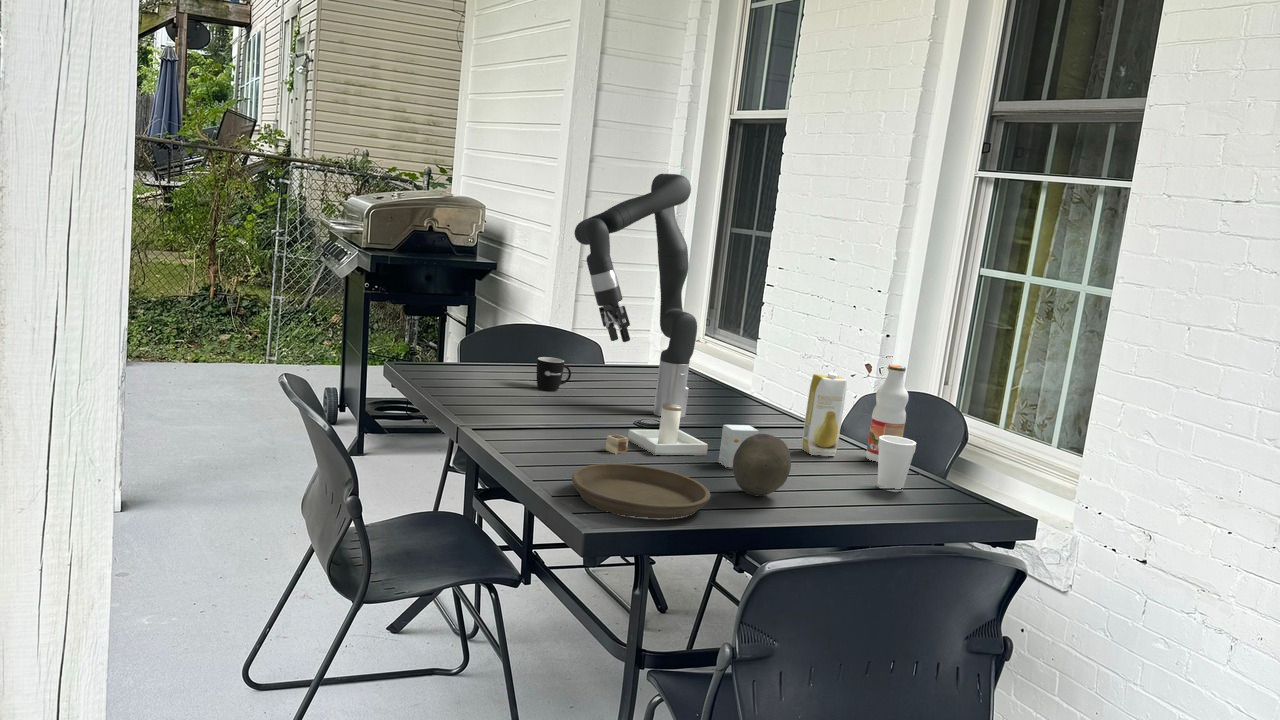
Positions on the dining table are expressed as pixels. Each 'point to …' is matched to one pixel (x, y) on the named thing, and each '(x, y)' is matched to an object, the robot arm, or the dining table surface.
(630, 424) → the dining table surface
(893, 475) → the foam cup
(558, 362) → the mug
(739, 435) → the small box
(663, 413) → the canister
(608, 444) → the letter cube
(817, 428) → the juice carton
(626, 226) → the robot arm
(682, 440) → the tray
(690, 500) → the plant saucer
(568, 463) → the dining table surface
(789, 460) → the cantaloupe
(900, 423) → the fruit juice
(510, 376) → the dining table surface
